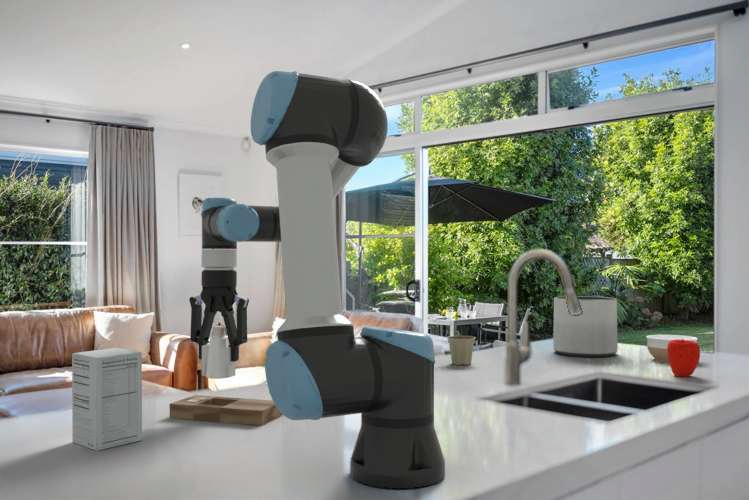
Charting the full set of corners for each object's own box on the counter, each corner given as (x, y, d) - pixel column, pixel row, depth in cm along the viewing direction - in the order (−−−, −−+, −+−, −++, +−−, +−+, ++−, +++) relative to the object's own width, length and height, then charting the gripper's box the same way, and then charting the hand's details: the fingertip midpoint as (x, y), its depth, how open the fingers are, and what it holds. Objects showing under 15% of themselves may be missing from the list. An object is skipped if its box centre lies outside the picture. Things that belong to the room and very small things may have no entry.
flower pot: (444, 365, 221) (444, 338, 221) (449, 361, 230) (449, 335, 230) (473, 366, 219) (473, 339, 219) (477, 362, 228) (477, 336, 228)
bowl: (635, 358, 238) (635, 335, 238) (674, 356, 243) (674, 333, 243) (668, 365, 223) (668, 340, 223) (708, 363, 228) (708, 338, 228)
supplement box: (117, 432, 136) (118, 347, 136) (143, 440, 130) (144, 351, 131) (70, 442, 129) (70, 352, 129) (95, 451, 123) (96, 356, 123)
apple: (706, 377, 200) (706, 340, 200) (683, 379, 197) (683, 341, 197) (682, 372, 208) (682, 336, 208) (660, 374, 205) (660, 337, 205)
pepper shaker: (206, 379, 148) (206, 327, 148) (205, 374, 153) (205, 325, 153) (232, 378, 149) (232, 327, 149) (230, 373, 154) (230, 324, 154)
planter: (576, 347, 265) (576, 295, 265) (629, 354, 248) (629, 298, 248) (540, 353, 251) (540, 297, 251) (595, 360, 234) (595, 300, 234)
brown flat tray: (262, 425, 142) (262, 409, 142) (169, 417, 149) (169, 402, 149) (282, 414, 152) (282, 400, 152) (195, 408, 158) (195, 394, 158)
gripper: (264, 269, 152) (264, 375, 152) (192, 268, 157) (191, 370, 157) (248, 270, 145) (248, 381, 145) (172, 268, 150) (172, 375, 150)
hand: (218, 375), depth 151 cm, fingers closed on pepper shaker, 5 cm apart
